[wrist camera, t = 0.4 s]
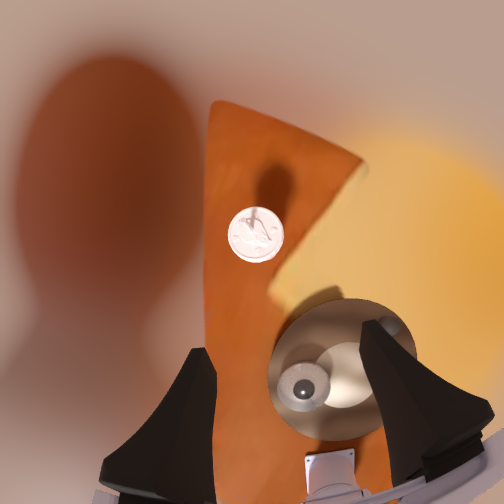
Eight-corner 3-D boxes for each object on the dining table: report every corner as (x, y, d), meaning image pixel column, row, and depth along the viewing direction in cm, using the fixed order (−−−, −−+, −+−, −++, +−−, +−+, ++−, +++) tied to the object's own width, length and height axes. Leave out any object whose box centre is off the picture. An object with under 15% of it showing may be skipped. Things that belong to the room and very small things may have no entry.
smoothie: (261, 218, 41) (242, 181, 28) (296, 242, 40) (294, 215, 26) (235, 252, 41) (203, 231, 27) (269, 278, 40) (254, 269, 26)
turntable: (413, 418, 31) (422, 429, 27) (277, 444, 34) (274, 458, 30) (406, 285, 35) (418, 284, 31) (259, 311, 38) (254, 313, 34)
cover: (330, 401, 33) (332, 409, 30) (281, 407, 34) (279, 416, 31) (326, 356, 34) (328, 361, 31) (276, 363, 35) (273, 368, 33)
